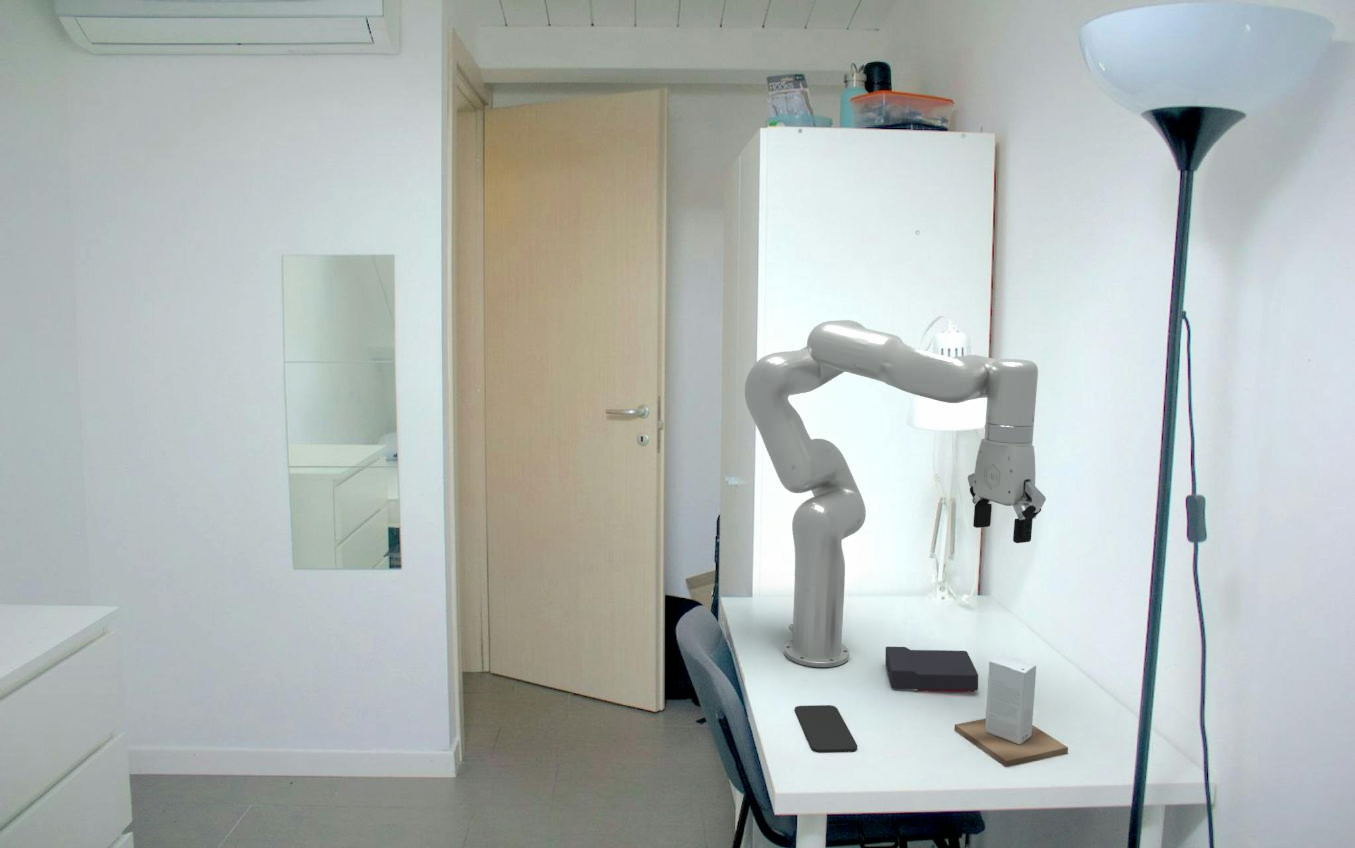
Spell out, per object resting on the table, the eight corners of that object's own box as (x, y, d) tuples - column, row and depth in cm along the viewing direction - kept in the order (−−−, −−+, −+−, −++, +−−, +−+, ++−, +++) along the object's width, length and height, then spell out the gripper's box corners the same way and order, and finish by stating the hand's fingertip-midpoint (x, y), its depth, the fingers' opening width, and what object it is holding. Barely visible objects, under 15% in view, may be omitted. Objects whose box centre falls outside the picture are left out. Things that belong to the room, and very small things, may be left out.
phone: (835, 705, 154) (859, 748, 139) (835, 709, 154) (859, 753, 140) (792, 705, 154) (812, 749, 139) (792, 710, 154) (812, 755, 139)
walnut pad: (954, 730, 147) (954, 724, 147) (1013, 718, 151) (1013, 713, 151) (1005, 767, 136) (1006, 761, 136) (1067, 753, 140) (1068, 747, 140)
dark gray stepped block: (966, 669, 170) (885, 667, 172) (966, 647, 169) (885, 646, 171) (978, 695, 159) (891, 693, 161) (978, 672, 159) (891, 670, 160)
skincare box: (1032, 736, 143) (1038, 665, 141) (1019, 746, 140) (1025, 673, 138) (995, 723, 147) (1001, 653, 146) (983, 731, 144) (988, 661, 143)
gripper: (956, 427, 156) (949, 523, 159) (1028, 444, 140) (1020, 550, 143) (991, 425, 159) (984, 519, 161) (1065, 441, 143) (1057, 546, 145)
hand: (1001, 534), depth 152 cm, fingers open, 9 cm apart
